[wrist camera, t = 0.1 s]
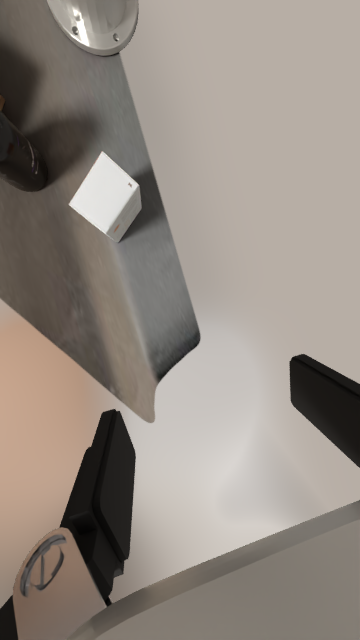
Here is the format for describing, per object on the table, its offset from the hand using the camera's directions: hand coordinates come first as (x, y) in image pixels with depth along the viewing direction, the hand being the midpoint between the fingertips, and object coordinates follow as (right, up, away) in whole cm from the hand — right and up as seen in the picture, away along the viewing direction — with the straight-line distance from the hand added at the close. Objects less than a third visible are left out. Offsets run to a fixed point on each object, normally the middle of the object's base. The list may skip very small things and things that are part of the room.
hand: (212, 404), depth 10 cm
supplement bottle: (-27, +29, +20) cm, 44 cm away
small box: (-13, +24, +24) cm, 36 cm away
